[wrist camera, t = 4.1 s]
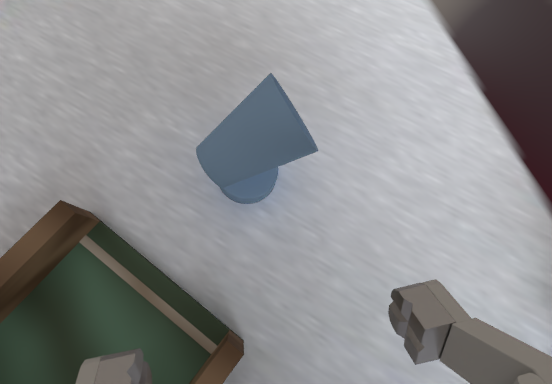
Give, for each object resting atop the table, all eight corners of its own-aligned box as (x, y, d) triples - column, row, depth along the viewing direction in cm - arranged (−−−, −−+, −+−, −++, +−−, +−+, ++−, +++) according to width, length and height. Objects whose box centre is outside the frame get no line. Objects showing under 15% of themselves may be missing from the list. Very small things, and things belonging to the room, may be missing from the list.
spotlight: (276, 127, 26) (196, 163, 25) (296, 43, 17) (168, 95, 15) (306, 180, 26) (225, 221, 24) (345, 124, 16) (215, 187, 14)
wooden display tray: (90, 212, 23) (40, 192, 18) (243, 340, 22) (244, 364, 17) (-85, 389, 20) (-220, 437, 14) (87, 550, 19) (19, 673, 13)
